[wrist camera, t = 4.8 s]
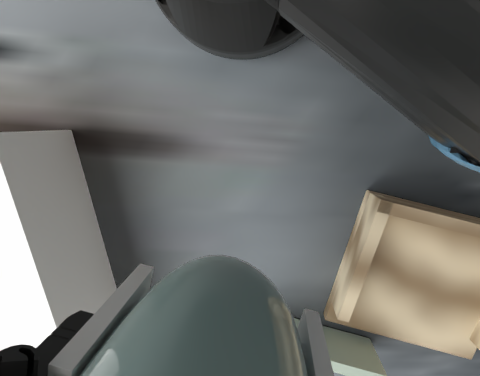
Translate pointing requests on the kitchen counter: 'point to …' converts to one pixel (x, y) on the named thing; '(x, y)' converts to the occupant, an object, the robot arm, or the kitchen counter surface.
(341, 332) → the gate
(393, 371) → the kitchen counter surface
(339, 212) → the kitchen counter surface
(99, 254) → the tissue box
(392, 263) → the tray
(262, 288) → the cup
